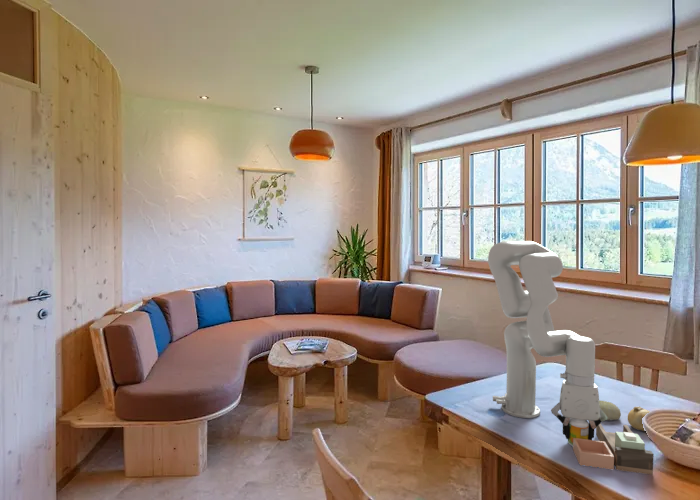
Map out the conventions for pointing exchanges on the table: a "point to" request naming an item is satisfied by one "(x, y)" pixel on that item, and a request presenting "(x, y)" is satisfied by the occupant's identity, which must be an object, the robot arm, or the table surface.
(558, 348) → the robot arm
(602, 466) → the holder
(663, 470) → the table surface
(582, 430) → the supplement bottle
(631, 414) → the onion
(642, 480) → the table surface
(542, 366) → the table surface
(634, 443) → the block
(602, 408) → the sea urchin shell
